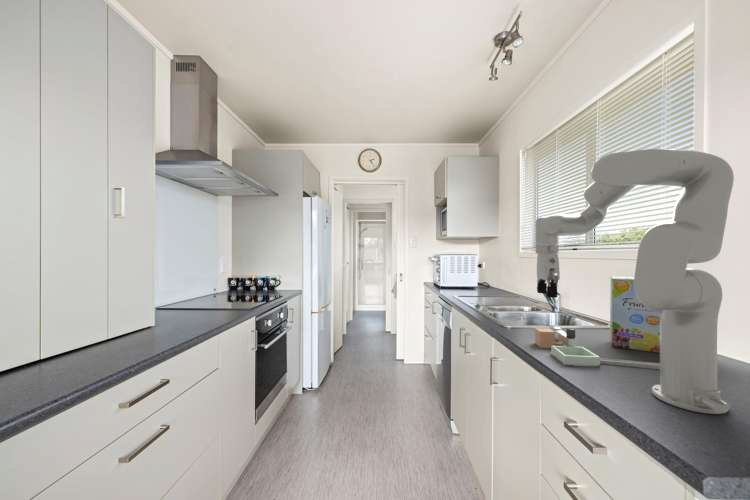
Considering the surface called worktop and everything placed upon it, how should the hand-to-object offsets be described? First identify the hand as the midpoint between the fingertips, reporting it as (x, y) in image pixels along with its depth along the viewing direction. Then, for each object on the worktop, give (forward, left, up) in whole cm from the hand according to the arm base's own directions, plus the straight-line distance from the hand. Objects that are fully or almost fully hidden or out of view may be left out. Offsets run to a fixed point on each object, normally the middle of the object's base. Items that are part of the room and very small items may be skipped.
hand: (546, 295), depth 113 cm
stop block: (0, +1, -19) cm, 19 cm away
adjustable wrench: (-17, -21, -20) cm, 33 cm away
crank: (-1, -5, -18) cm, 19 cm away
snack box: (+1, -34, -19) cm, 39 cm away
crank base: (+5, -5, -19) cm, 20 cm away
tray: (-15, -3, -19) cm, 24 cm away
